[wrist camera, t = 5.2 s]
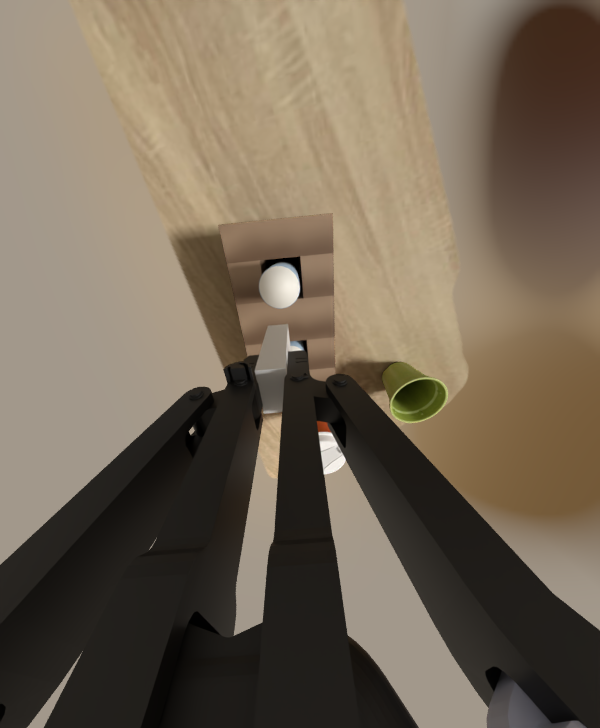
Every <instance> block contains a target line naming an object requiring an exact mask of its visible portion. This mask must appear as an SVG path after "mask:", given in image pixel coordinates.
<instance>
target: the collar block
mask: <svg viewBox="0 0 600 728" xmlns="http://www.w3.org/2000/svg"><path fill="white" fill-rule="evenodd" d="M218 226H219V230H220V235H221V239H222V244H223V248H224V253H225V257H226V262H227V266H228V271H229V275H230V280H231V284H232V289H233V293H234V298H235V302H236V307H237V311H238V316H239V320H240V325H241V329H242V334H243V338H244V343H245V347H246V352H247V356H250V355H259V354H260V351H261V347H262V344H263V341H264V337H265V334H266V331H267V327H268V326H272V325H283V324H288V330H289V338H290V341H300V340H306V343H305V344H304V349H305V352H306V353H307V356H308V363H309V371H310V375H311V377H312V378H314V379H316V380H319V381H326V379H327V378H328V377H329V376H331V375H334V374H335V328H334V263H333V213H329V214H320V215H310V216H300V217H290V218H281V219H271V220H261V221H251V222H242V223H232V224H222V225H218ZM289 257H299V267H300V280H301V287H300V293H299V296H298V298H297V300H296V301H295V302H294V303H293V304H292V305H291V306H289V307H287V308H283V309H278V308H274V307H271V306H269V305H268V304H267V303H266V302H265V301H264V300H263V299H262V297H261V295H260V292H259V281H260V278H261V276H262V274H263V273H264V271H266V270H267V269H268V268H270V265H269V259H279V258H289Z"/></svg>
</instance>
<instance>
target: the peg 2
mask: <svg viewBox="0 0 600 728" xmlns="http://www.w3.org/2000/svg"><path fill="white" fill-rule="evenodd" d="M290 347H291V351H299V350H304V351H305V349H304V340H300V341H290Z"/></svg>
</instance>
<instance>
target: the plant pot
mask: <svg viewBox="0 0 600 728" xmlns="http://www.w3.org/2000/svg"><path fill="white" fill-rule="evenodd" d="M382 381H383V384H384V387H385V389H386V392H387V394H388V397H389V401H390V404H389V407H390V411H391V413H392V415H393V416H394V417H395V418H396V419H397V420H399V421H402V422H405V423H416V422H421V421H424V420H427V419H429V418H431V417H433V416H434V415H435V414H437V413H438V412H439V411H440V410H441V409H442V408H443V406H444V405H445V403H446V401H447V398H448V391H447V388H446V386H445V385H444V383H442V382H441V381H440V380H438V379H436V378H433V377H428V376H426V375H424V374H422V373H421V372H419V371H418V370H416V369H415V368H413V367H412V366H410V365H409V364H407V363H404V362H397V363H394V364H391V365H390V366H389V367H388V368H387V369H386V370H385V371H384V372H383V374H382Z"/></svg>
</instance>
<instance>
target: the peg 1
mask: <svg viewBox="0 0 600 728" xmlns="http://www.w3.org/2000/svg"><path fill="white" fill-rule="evenodd" d="M259 292H260V295H261V297H262V299H263V300H264V301H265V302H266V303H267V304H268V305H269V306H271V307H274V308H278V309H283V308H287V307H289V306H291V305H292V304H293V303H294V302H295V301H296V300H297V298H298V296H299V293H300V283H299V277H298V272H297V270H296V268H295V266H294V265H293V264H291V263H290V262H287V261H279V262H277V263H275V264H274V265H272V266H271V267H270V268H268V269H267V270H266V271H264V273H263V274H262V276H261V278H260V281H259Z"/></svg>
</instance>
